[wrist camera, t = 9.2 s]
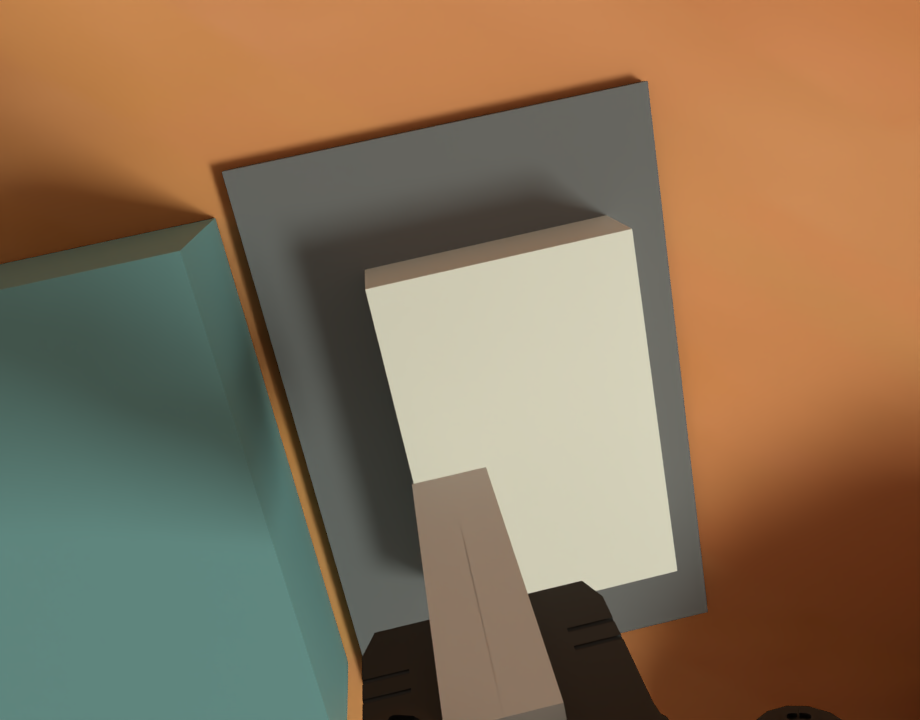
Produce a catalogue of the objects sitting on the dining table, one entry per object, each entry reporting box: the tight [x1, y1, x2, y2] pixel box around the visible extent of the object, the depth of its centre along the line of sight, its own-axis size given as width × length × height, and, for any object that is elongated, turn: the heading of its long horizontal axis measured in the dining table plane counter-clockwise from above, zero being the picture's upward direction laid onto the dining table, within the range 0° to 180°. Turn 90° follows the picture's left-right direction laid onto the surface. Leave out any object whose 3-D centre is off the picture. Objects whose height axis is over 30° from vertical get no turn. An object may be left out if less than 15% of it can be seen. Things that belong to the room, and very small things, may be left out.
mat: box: [222, 81, 708, 656], centre depth 22 cm, size 10×15×1 cm, turn 11°
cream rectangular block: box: [365, 215, 677, 594], centre depth 20 cm, size 6×9×2 cm, turn 12°
